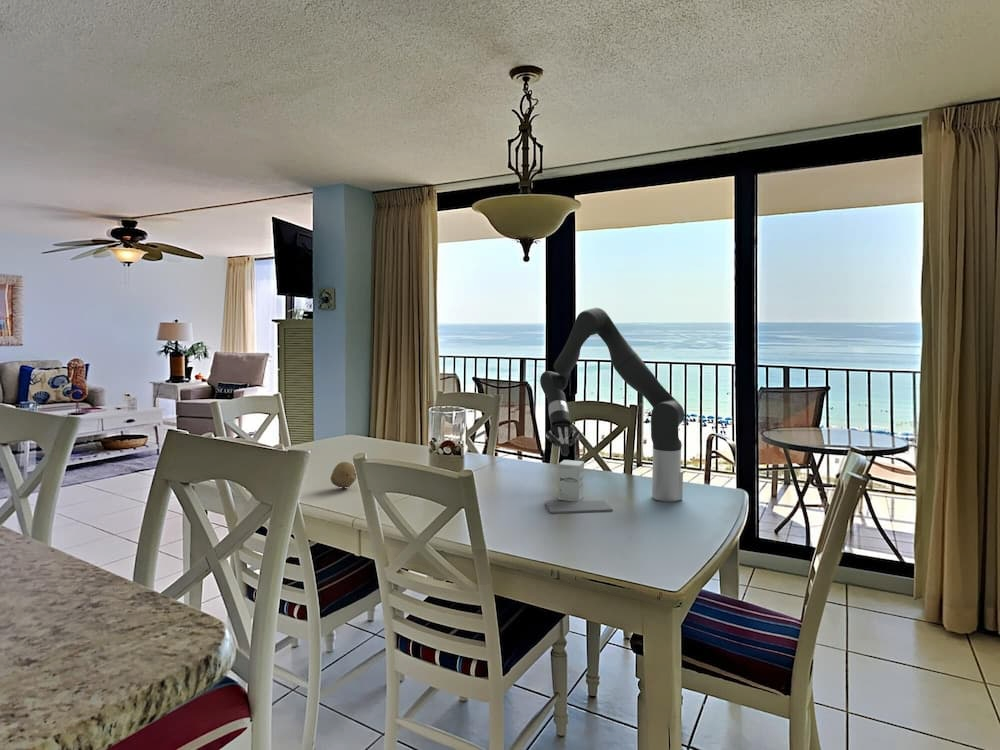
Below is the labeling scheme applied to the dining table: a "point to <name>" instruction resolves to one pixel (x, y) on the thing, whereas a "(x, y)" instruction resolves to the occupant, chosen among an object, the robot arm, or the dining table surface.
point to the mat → (578, 506)
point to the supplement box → (571, 480)
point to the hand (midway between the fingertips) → (565, 454)
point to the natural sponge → (343, 475)
